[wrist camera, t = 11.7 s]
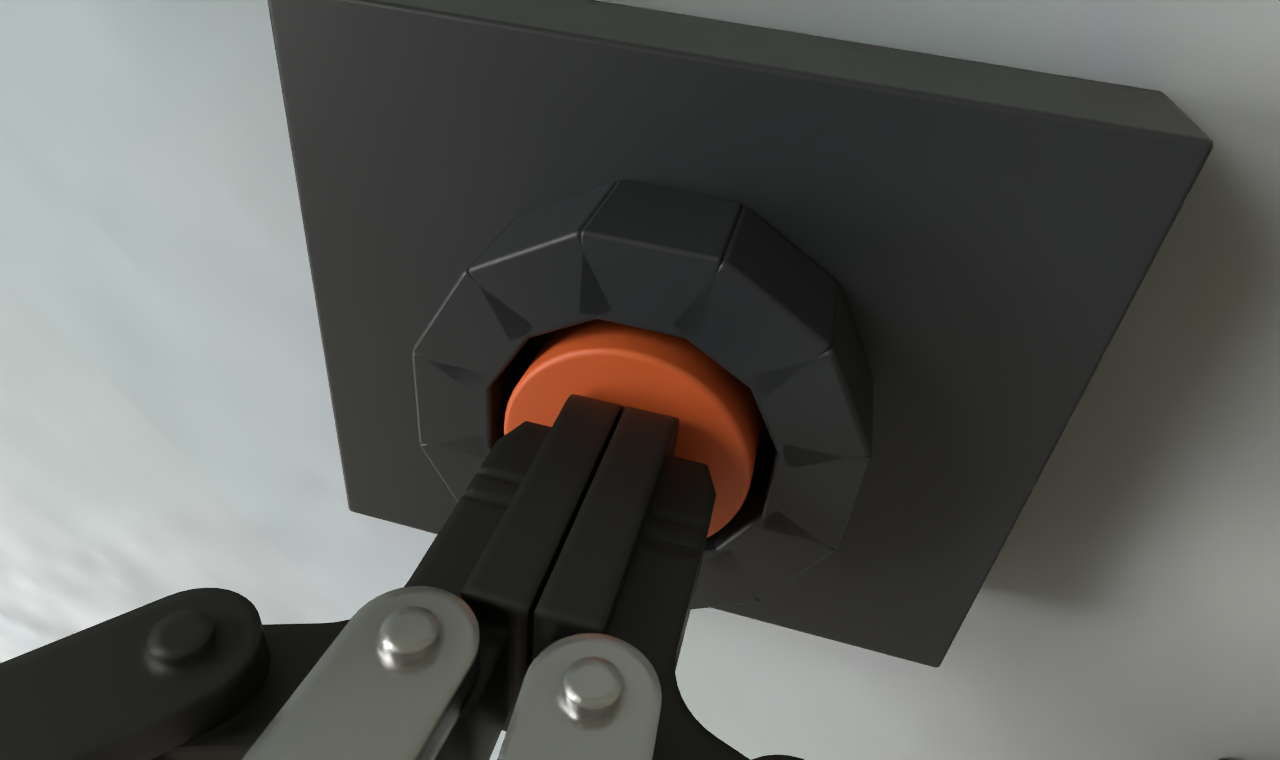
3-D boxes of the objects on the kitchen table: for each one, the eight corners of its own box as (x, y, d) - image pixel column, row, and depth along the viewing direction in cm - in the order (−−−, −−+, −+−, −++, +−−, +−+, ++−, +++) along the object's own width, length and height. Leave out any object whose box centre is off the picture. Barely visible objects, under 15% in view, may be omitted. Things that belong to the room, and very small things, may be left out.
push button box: (1164, 91, 11) (1280, 202, 8) (933, 581, 17) (944, 760, 13) (349, -41, 13) (166, 6, 9) (398, 446, 18) (296, 577, 15)
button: (789, 316, 11) (775, 384, 10) (744, 499, 13) (727, 578, 12) (546, 265, 12) (500, 323, 10) (540, 449, 14) (501, 519, 13)
